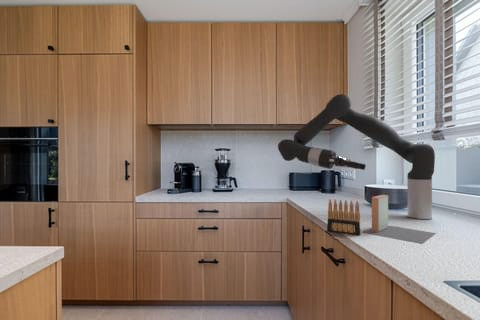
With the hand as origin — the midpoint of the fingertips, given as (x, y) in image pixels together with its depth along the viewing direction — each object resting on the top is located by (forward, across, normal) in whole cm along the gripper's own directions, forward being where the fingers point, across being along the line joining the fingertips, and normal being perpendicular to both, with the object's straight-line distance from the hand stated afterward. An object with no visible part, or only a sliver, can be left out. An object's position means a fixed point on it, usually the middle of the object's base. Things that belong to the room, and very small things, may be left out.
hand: (362, 166), depth 102 cm
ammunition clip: (+3, -12, +24) cm, 27 cm away
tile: (+11, +1, +21) cm, 23 cm away
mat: (+17, 0, +20) cm, 26 cm away
